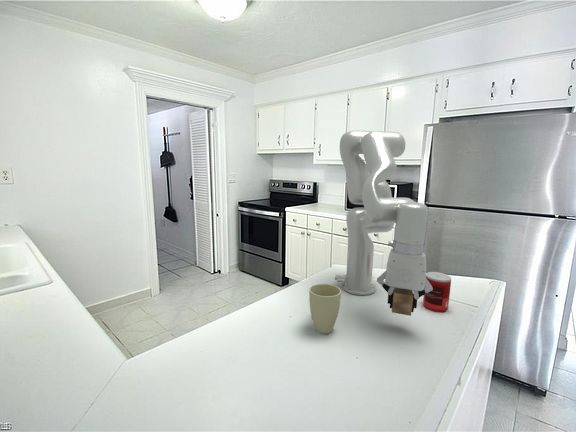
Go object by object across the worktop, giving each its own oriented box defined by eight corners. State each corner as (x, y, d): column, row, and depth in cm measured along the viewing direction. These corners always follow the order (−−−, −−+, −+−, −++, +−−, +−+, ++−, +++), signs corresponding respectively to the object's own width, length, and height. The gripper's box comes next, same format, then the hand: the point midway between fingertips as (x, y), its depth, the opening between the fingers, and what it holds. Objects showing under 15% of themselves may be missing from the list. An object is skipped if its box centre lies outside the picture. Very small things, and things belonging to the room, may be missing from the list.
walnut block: (391, 312, 82) (393, 292, 81) (391, 303, 87) (393, 285, 85) (410, 315, 80) (413, 295, 79) (410, 307, 85) (412, 288, 84)
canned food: (442, 302, 102) (445, 272, 100) (452, 313, 94) (456, 280, 92) (419, 300, 102) (421, 271, 101) (427, 311, 95) (430, 279, 93)
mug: (347, 327, 85) (349, 288, 83) (327, 342, 78) (328, 299, 76) (317, 314, 92) (318, 278, 90) (296, 326, 85) (297, 287, 83)
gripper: (374, 247, 79) (369, 308, 83) (445, 256, 73) (435, 321, 77) (376, 240, 86) (371, 296, 90) (440, 247, 80) (432, 307, 84)
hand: (401, 307), depth 83 cm, fingers closed on walnut block, 4 cm apart
